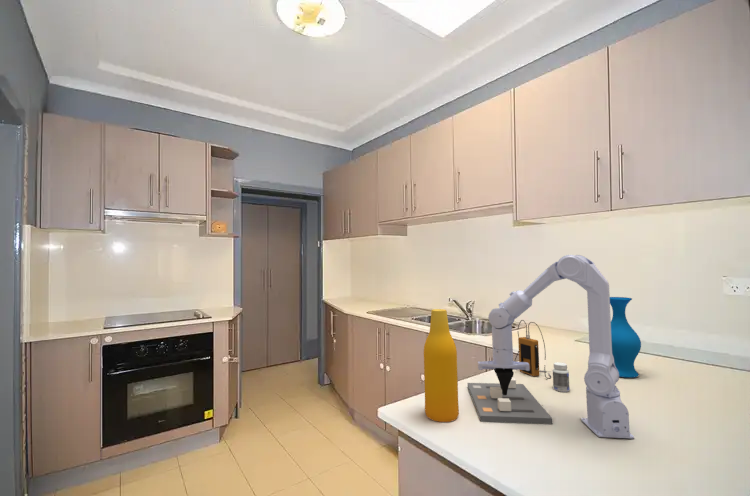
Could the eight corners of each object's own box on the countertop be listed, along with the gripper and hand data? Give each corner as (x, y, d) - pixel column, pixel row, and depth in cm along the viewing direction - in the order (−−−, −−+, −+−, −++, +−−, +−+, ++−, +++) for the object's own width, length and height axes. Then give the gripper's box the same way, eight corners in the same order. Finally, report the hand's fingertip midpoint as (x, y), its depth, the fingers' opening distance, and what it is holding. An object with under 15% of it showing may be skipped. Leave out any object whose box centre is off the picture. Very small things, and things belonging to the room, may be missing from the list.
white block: (511, 411, 94) (510, 401, 94) (499, 410, 95) (499, 401, 95) (509, 407, 97) (508, 398, 97) (497, 407, 97) (497, 398, 97)
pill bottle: (571, 392, 112) (570, 366, 112) (555, 391, 113) (554, 365, 113) (566, 387, 116) (565, 362, 117) (551, 386, 117) (550, 361, 118)
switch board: (552, 424, 90) (552, 417, 90) (480, 421, 93) (480, 415, 93) (523, 388, 116) (522, 383, 116) (467, 387, 118) (467, 382, 118)
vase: (610, 378, 124) (606, 299, 125) (597, 368, 136) (593, 296, 138) (650, 380, 121) (645, 299, 123) (632, 370, 133) (628, 296, 135)
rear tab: (516, 388, 111) (515, 380, 112) (506, 388, 112) (506, 380, 112) (514, 385, 114) (513, 378, 114) (504, 385, 114) (504, 377, 114)
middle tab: (502, 398, 103) (502, 389, 103) (491, 398, 104) (491, 389, 104) (500, 395, 106) (500, 387, 106) (490, 395, 106) (489, 386, 106)
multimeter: (562, 376, 128) (560, 321, 129) (542, 380, 124) (539, 323, 125) (531, 366, 141) (529, 316, 142) (512, 369, 138) (510, 318, 139)
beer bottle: (463, 412, 98) (460, 308, 100) (452, 425, 90) (449, 313, 92) (432, 406, 103) (429, 307, 105) (419, 418, 95) (417, 311, 97)
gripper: (523, 345, 108) (525, 389, 107) (475, 344, 110) (477, 388, 109) (531, 350, 101) (532, 398, 100) (479, 350, 103) (481, 397, 102)
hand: (504, 394), depth 104 cm, fingers closed
